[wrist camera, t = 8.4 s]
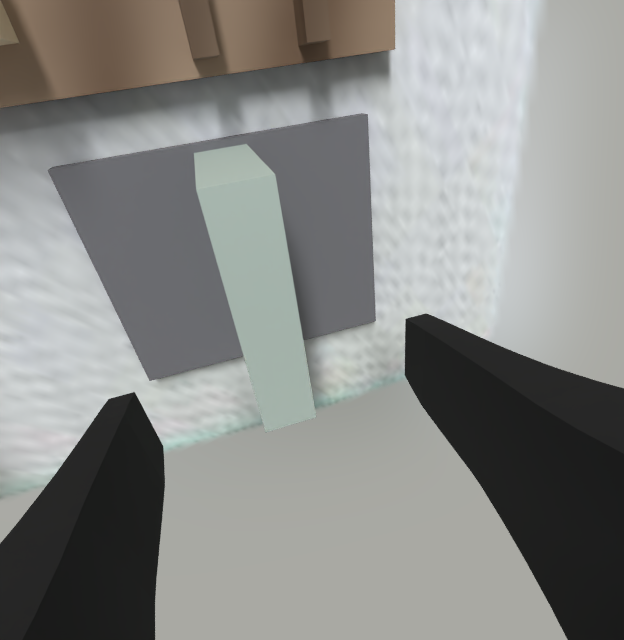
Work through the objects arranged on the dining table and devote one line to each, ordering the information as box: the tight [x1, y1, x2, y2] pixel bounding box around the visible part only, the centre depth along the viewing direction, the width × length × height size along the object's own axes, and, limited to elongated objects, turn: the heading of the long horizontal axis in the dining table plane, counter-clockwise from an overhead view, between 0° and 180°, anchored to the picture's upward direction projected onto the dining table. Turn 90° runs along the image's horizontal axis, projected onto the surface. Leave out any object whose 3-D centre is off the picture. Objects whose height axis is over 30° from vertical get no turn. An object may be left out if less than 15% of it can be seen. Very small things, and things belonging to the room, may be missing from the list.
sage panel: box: [194, 144, 316, 432], centre depth 14 cm, size 2×9×6 cm, turn 8°
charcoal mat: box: [48, 114, 376, 381], centre depth 17 cm, size 12×10×1 cm
